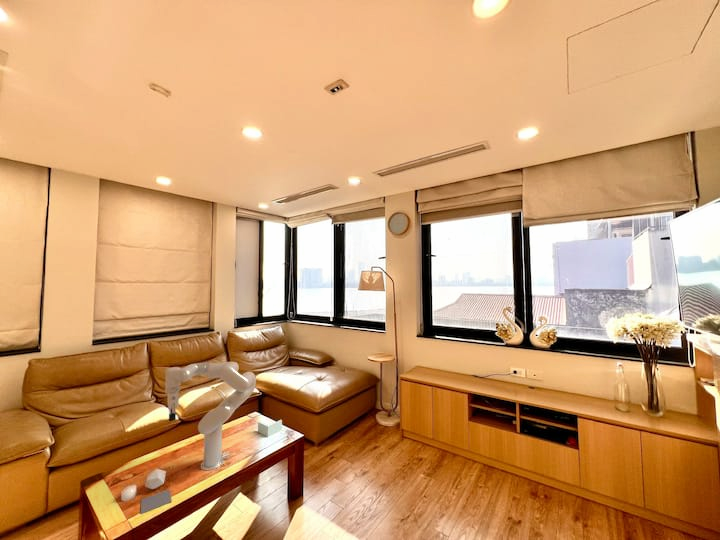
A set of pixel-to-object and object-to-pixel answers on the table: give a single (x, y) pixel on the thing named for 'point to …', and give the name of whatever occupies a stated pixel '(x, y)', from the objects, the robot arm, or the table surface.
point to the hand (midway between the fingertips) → (172, 420)
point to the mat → (155, 501)
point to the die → (155, 479)
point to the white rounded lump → (128, 493)
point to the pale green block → (269, 428)
